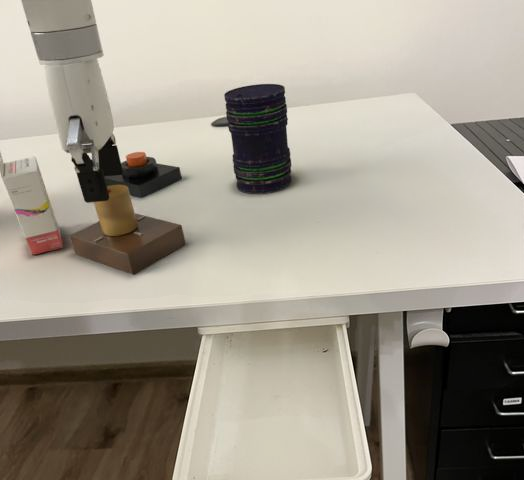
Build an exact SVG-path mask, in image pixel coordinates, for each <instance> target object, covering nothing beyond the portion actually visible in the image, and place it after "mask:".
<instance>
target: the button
mask: <svg viewBox="0 0 524 480" xmlns="http://www.w3.org/2000/svg"><path fill="white" fill-rule="evenodd" d="M146 157H147V154H146V152H145V151H136V152H131V153H129V154H126V156H125V161H126V160H127V164H128V166H130V167H133V166H140V165H144V164H146V163H148V162H147V158H146Z"/></svg>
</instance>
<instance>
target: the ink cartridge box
mask: <svg viewBox="0 0 524 480" xmlns="http://www.w3.org/2000/svg"><path fill="white" fill-rule="evenodd" d="M0 177H1V180H2V183H3V185H4V188H5V190H6V192H7V196H8V198H9V201H10V202H11V205H12V208H13V210H14V213H15V216H16V218H17V220H18V223H19V226H20V228H21V230H22V233H23V236H24V238H25V240H26V243H27V246H28V248H29V251H30V254H31V255H32V256H34V255H39V254H42V253H47V252H50V251H54V250H58V249H63V248H64V245H63V244H64V243H63V240H62V235H61V230H60V226H59V224H58V221H57V218H56V215H55V212H54V209H53V206H52V203H51V200H50V197H49V194H48V191H47V188H46V184H45V181H44V179H43V176H42V171H41V170H40V166H39V163H38V160H37V157H36V156H30V157H29V156H28V157H25V158H21V159H17V160H12V161H7V162H4V160H3V156H2V153H1V151H0Z"/></svg>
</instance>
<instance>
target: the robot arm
mask: <svg viewBox="0 0 524 480" xmlns="http://www.w3.org/2000/svg"><path fill="white" fill-rule="evenodd" d="M20 2H21V5H22V7H23V11H24V14H25V18H26V23H27V25H28V29H29V31H30V36H31V39H32V42H33V46H34V49H35V53H36V56H37V60H38V63H39V65H40V66H43V68H44V75H45V81H46V88H47V93H48V98H49V102H50V107H51V110H52V111H51V112H52V115H53V118H54V119H53V120H54V122H55V126H56V130H57V134H58V139H59V142H60V146H61V149H62V150H63V152H64V153H66V154H70V156H71V159H70V160H71V162H72V164H73V168H74V171H75V174H76V176H77V180H78V184H79V187H80V191H81V194H82V198H83V201H84V202H85V203H88V204H89V203H94V202H100V201H108V200H109V192H108V189H107V185H106V181H105V177H104V176H115V175H121V174H122V173H123V169H122V165H121V163H122V162H121V157H120V154H119V149H118V145H117V140H116V137H115V134H114V128H115V125H114V119H113V114H112V109H111V104H110V101H109V96H108V92H107V89H106V85H105V82H104V78H103V74H102V69H101V67H100V64H99V60H98V59H100V58H103V56H104V51H103V47H102V42H101V36H100V33H99V29H98V24H97V20H96V15H95V12H94V11H95V10H94V7H93V2H92V0H20ZM89 154H90V156H91V157H90V156H89Z"/></svg>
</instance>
